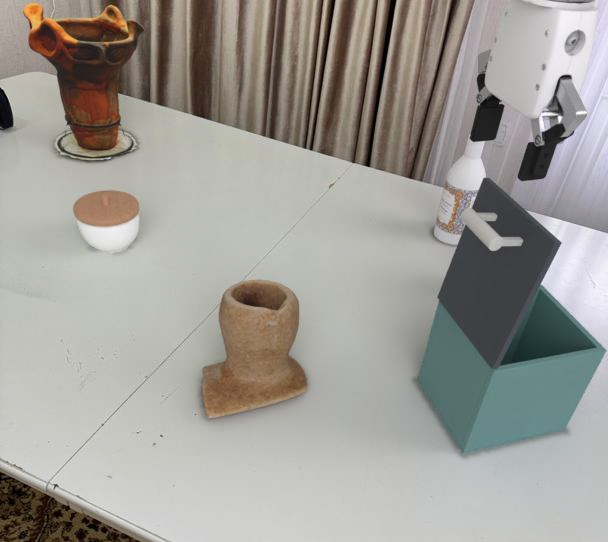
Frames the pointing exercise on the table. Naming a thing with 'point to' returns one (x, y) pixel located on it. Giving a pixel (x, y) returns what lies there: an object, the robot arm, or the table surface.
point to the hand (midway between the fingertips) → (505, 158)
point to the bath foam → (459, 193)
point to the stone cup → (255, 350)
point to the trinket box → (108, 219)
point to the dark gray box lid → (496, 270)
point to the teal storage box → (510, 377)
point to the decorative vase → (87, 76)
